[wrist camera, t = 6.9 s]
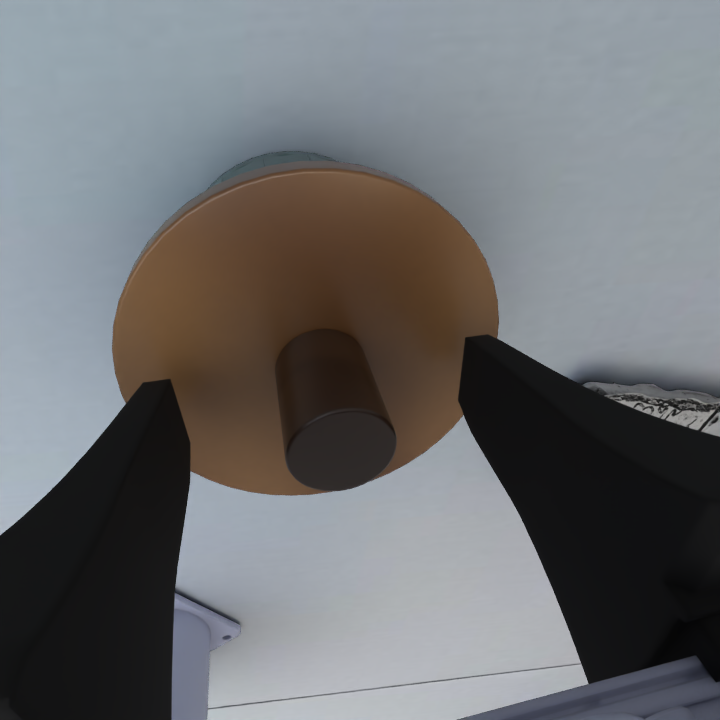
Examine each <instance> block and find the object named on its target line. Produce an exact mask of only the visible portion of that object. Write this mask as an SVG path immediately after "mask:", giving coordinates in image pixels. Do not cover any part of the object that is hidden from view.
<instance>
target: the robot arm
mask: <svg viewBox="0 0 720 720" xmlns="http://www.w3.org/2000/svg"><path fill="white" fill-rule="evenodd" d="M458 402H459V404H460V407H461V409H462V412H463V414H464V417H465V419H466V421H467V424H468V426H469V428H470V431H471V433H472V434H473V436H474V438H475V440H476V441H477V443H478V445H479V447H480V448H481V450H482V452H483V453H484V455H485V457H486V458H487V460H488V462H489V463H490V465H491V467H492V468H493V470H494V472H495V473H496V475H497V477H498V478H499V480H500V482H501V483H502V485H503V487H504V488H505V490H506V492H507V493H508V495H509V497H510V498H511V500H512V502H513V504H514V506H515V507H516V509H517V511H518V513H519V515H520V517H521V519H522V521H523V523H524V525H525V527H526V529H527V532H528V534H529V536H530V538H531V540H532V542H533V545H534V547H535V549H536V551H537V553H538V556H539V558H540V560H541V563H542V565H543V567H544V570H545V572H546V574H547V577H548V579H549V581H550V584H551V586H552V588H553V591H554V593H555V596H556V598H557V601H558V603H559V606H560V608H561V611H562V613H563V616H564V618H565V621H566V623H567V626H568V628H569V631H570V634H571V636H572V639H573V642H574V644H575V647H576V650H577V653H578V655H579V658H580V661H581V664H582V666H583V669H584V672H585V675H586V677H587V680H588V683H589V684H587V685H584V686H580V687H576V688H573V689H569V690H565V691H562V692H558V693H554V694H550V695H547V696H543V697H539V698H536V699H532V700H528V701H524V702H521V703H517V704H513V705H510V706H506V707H502V708H499V709H495V710H491V711H487V712H484V713H480V714H476V715H473V716H469V717H465V718H461V719H458V720H720V437H719V436H715V435H712V434H708V433H705V432H702V431H698V430H695V429H691V428H688V427H685V426H682V425H679V424H676V423H673V422H670V421H667V420H664V419H661V418H658V417H655V416H653V415H650V414H647V413H644V412H642V411H639V410H637V409H634V408H632V407H629V406H627V405H624V404H622V403H620V402H617V401H615V400H612V399H610V398H608V397H605V396H603V395H601V394H599V393H597V392H595V391H593V390H591V389H588V388H586V387H584V386H582V385H580V384H578V383H576V382H574V381H572V380H570V379H568V378H567V377H565V376H563V375H561V374H559V373H557V372H555V371H553V370H552V369H550V368H548V367H546V366H544V365H543V364H541V363H539V362H537V361H536V360H534V359H532V358H530V357H529V356H527V355H525V354H523V353H522V352H520V351H518V350H516V349H515V348H513V347H511V346H509V345H508V344H506V343H504V342H502V341H500V340H498V339H497V338H495V337H493V336H490V335H488V334H486V335H479V336H472V337H465V343H464V352H463V360H462V369H461V377H460V386H459V394H458ZM190 459H191V443H190V440H189V436H188V433H187V430H186V427H185V424H184V420H183V417H182V414H181V411H180V407H179V404H178V401H177V398H176V395H175V391H174V388H173V385H172V382H171V379H164V380H157V381H150V382H143V383H142V384H141V386H140V387H139V388H138V389H137V390H136V392H135V393H134V394H133V395H132V397H131V398H130V399H129V401H128V402H127V403H126V404H125V406H124V407H123V408H122V410H121V411H120V412H119V413H118V415H117V416H116V417H115V419H114V420H113V421H112V422H111V424H110V425H109V426H108V427H107V429H106V430H105V431H104V432H103V433H102V435H101V436H100V437H99V438H98V439H97V441H96V442H95V443H94V444H93V446H92V447H91V448H90V449H89V450H88V451H87V452H86V454H85V455H84V456H83V457H82V458H81V459H80V460H79V461H78V462H77V463H76V465H75V466H74V467H73V468H72V469H71V470H70V471H69V472H68V473H67V475H66V476H65V477H64V478H63V479H62V480H61V481H60V482H59V483H58V484H57V485H56V486H55V487H54V488H53V489H52V490H51V491H50V492H49V493H48V494H47V495H46V496H45V497H44V498H42V499H41V500H40V501H39V502H38V503H37V504H36V505H35V506H34V507H33V508H32V509H31V510H30V511H28V512H27V513H26V514H25V515H24V516H23V517H22V518H21V519H20V520H18V521H17V522H16V523H15V524H14V525H12V526H11V527H10V528H9V529H8V530H6V531H5V532H4V533H3V534H2V535H0V720H207V715H208V689H209V662H210V651H212V650H214V649H216V648H217V647H219V646H221V645H223V644H225V643H226V642H228V641H230V640H232V639H234V638H235V637H237V636H239V635H240V634H241V626H240V625H239V624H237V623H235V622H233V621H231V620H229V619H227V618H225V617H223V616H221V615H219V614H217V613H215V612H213V611H211V610H208V609H206V608H204V607H202V606H200V605H198V604H196V603H194V602H192V601H190V600H188V599H186V598H184V597H182V596H180V595H178V594H176V593H175V584H176V575H177V566H178V560H179V553H180V546H181V540H182V533H183V527H184V520H185V513H186V506H187V500H188V493H189V485H190Z"/></svg>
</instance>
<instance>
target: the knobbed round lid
mask: <svg viewBox="0 0 720 720" xmlns="http://www.w3.org/2000/svg"><path fill="white" fill-rule="evenodd" d="M498 324H499V317H498V300H497V295H496V290H495V286H494V281H493V278H492V275H491V273H490V270H489V267H488V265H487V262H486V259H485V258H484V256H483V254H482V253H481V251H480V249H479V247H478V246H477V244H476V242H475V240H474V239H473V238H472V237H471V235H470V234H469V233H468V232H467V231H466V229H465V228H464V227H463V226H462V224H461V223H460V222H459V221H458V220H457V219H456V218H455V217H453V216H452V215H451V214H450V213H449V212H448V211H447V210H445V209H444V208H443V207H442V206H441V205H440V204H439V203H438V202H436V201H435V200H434V199H433V198H432V197H431V196H429V195H427V194H426V193H424V192H423V191H421V190H420V189H418V188H417V187H415V186H413V185H412V184H410V183H408V182H406V181H404V180H402V179H399V178H397V177H395V176H393V175H390V174H388V173H386V172H383V171H379V170H376V169H372V168H368V167H365V166H361V165H357V164H350V163H342V162H335V161H297V162H290V163H283V164H276V165H269V166H266V167H263V168H259V169H256V170H252V171H249V172H245V173H242V174H239V175H237V176H235V177H232V178H230V179H228V180H226V181H224V182H221V183H219V184H217V185H215V186H212V187H211V188H209V189H208V190H206V191H205V192H203V193H201V194H200V195H198V196H197V197H195V198H194V199H192V200H190V201H189V202H187V203H186V204H185V205H184V206H183V207H181V208H180V209H179V210H178V211H177V212H176V213H175V214H173V215H172V216H171V217H170V218H169V219H168V220H166V221H165V222H164V224H163V225H162V226H161V227H160V228H159V229H158V231H157V232H156V233H155V234H154V235H153V236H152V238H151V239H150V240H149V241H148V242H147V244H146V246H145V247H144V249H143V250H142V252H141V254H140V255H139V257H138V259H137V260H136V262H135V263H134V265H133V267H132V270H131V272H130V275H129V277H128V280H127V282H126V284H125V287H124V289H123V292H122V294H121V297H120V299H119V302H118V306H117V311H116V315H115V320H114V324H113V340H112V353H113V361H114V369H115V374H116V378H117V381H118V384H119V388H120V391H121V394H122V396H123V398H124V400H125V402H126V403H127V402H128V401H129V399H130V398H131V397H132V395H133V394H134V393H135V392H136V390H137V389H138V388H139V387H140V386H141V384H142V383H143V382H150V381H157V380H164V379H171V382H172V385H173V388H174V391H175V395H176V398H177V401H178V404H179V407H180V411H181V414H182V417H183V420H184V424H185V427H186V430H187V433H188V436H189V440H190V443H191V459H190V471H192V472H194V473H196V474H198V475H200V476H202V477H204V478H206V479H209V480H211V481H213V482H216V483H219V484H222V485H225V486H228V487H231V488H235V489H240V490H244V491H248V492H254V493H262V494H269V495H291V496H292V495H311V494H319V493H326V492H333V491H342V490H347V489H352V488H355V487H358V486H360V485H363V484H365V483H367V482H369V481H372V480H374V479H377V478H379V477H381V476H384V475H386V474H388V473H390V472H392V471H394V470H396V469H398V468H400V467H402V466H404V465H406V464H407V463H409V462H410V461H412V460H414V459H415V458H417V457H418V456H420V455H421V454H423V453H424V452H425V451H427V450H428V449H429V448H430V447H432V446H433V445H434V444H436V443H437V442H438V441H439V440H440V439H441V438H442V437H443V436H444V435H445V434H447V433H448V432H449V431H450V430H451V429H452V428H453V427H454V425H455V424H456V423H457V422H458V421H459V420H460V418H461V417H462V416H463V415H464V414H463V412H462V409H461V407H460V404H459V402H458V394H459V386H460V377H461V369H462V360H463V352H464V343H465V337H472V336H479V335H486V334H488V335H490V336H493V337H495V338H497V335H498Z"/></svg>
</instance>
